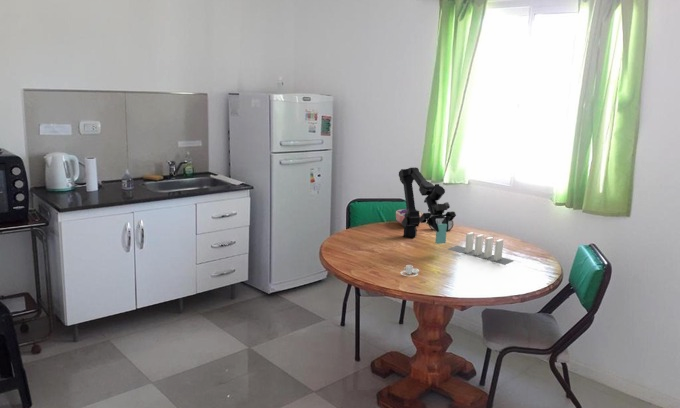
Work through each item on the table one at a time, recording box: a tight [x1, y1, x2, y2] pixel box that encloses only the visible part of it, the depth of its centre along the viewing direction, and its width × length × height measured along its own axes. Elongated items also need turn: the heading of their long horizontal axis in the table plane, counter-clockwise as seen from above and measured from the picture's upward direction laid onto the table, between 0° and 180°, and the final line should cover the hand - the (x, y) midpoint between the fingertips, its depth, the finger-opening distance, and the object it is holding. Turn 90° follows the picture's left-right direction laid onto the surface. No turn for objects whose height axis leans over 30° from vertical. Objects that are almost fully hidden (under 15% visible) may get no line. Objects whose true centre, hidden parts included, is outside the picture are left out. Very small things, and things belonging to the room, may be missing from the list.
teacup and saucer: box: [400, 264, 420, 277], centre depth 239 cm, size 9×8×4 cm
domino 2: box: [474, 234, 485, 255], centre depth 269 cm, size 2×5×10 cm, turn 136°
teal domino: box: [435, 224, 448, 245], centre depth 267 cm, size 2×5×10 cm, turn 110°
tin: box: [427, 218, 454, 232], centre depth 316 cm, size 15×3×8 cm, turn 84°
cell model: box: [395, 208, 423, 225], centre depth 323 cm, size 17×20×11 cm
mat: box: [447, 245, 515, 266], centre depth 269 cm, size 33×10×1 cm, turn 46°
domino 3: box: [483, 236, 494, 258], centre depth 265 cm, size 2×5×10 cm, turn 135°
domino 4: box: [493, 238, 504, 261], centre depth 261 cm, size 2×5×10 cm, turn 136°
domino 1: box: [464, 231, 475, 253], centre depth 272 cm, size 2×5×10 cm, turn 136°
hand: (442, 231), depth 266 cm, fingers closed on teal domino, 5 cm apart
